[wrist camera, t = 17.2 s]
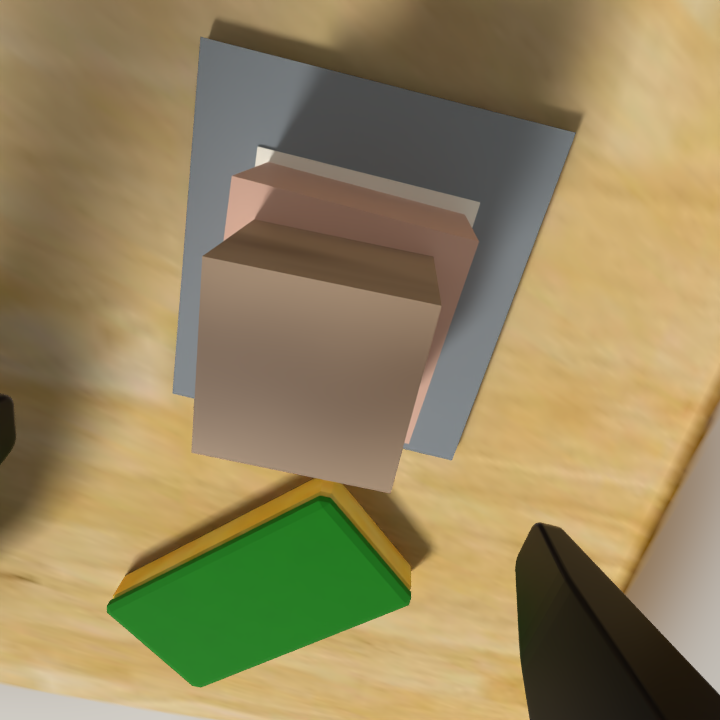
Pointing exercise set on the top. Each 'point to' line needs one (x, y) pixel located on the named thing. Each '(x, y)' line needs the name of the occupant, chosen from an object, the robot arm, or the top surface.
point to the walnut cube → (311, 352)
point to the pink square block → (361, 230)
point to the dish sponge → (264, 584)
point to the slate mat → (380, 173)
